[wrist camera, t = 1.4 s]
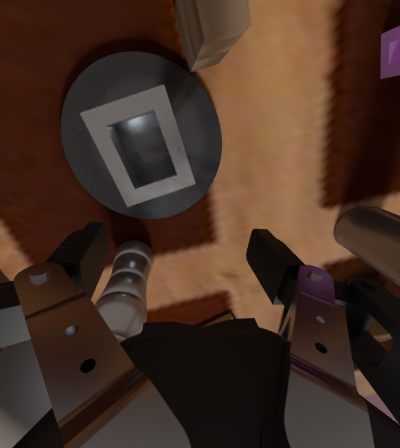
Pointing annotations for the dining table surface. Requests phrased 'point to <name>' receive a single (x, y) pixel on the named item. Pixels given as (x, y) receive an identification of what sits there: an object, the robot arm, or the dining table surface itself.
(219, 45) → the tan rectangular block
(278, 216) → the dining table surface
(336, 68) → the dining table surface
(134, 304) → the plastic bottle
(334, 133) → the dining table surface
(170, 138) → the grey round socket base
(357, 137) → the dining table surface
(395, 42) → the bracket
